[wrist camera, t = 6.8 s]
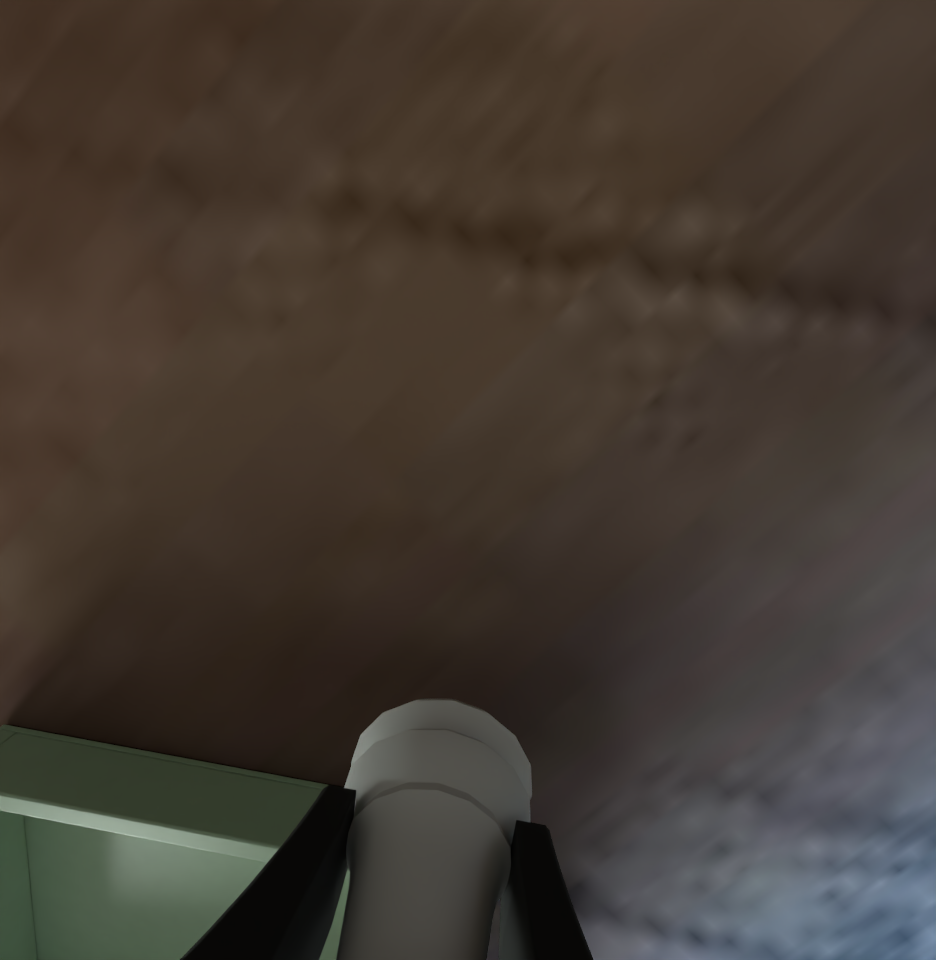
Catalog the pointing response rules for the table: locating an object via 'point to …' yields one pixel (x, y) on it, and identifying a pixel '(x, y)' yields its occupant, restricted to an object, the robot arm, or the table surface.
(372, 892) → the rook chess piece
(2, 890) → the tray
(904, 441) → the table surface
